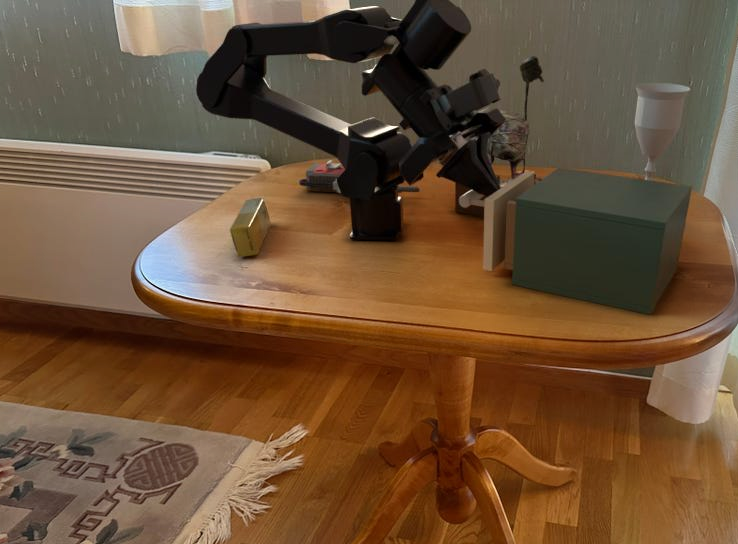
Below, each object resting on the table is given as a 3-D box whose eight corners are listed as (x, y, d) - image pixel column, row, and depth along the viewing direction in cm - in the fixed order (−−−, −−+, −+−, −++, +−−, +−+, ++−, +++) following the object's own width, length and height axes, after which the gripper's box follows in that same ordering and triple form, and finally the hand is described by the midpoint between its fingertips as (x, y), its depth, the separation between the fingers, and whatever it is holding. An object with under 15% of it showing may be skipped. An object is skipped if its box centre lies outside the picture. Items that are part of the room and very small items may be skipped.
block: (485, 217, 100) (485, 184, 97) (455, 212, 102) (455, 179, 99) (499, 207, 104) (500, 175, 101) (470, 202, 106) (470, 170, 103)
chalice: (614, 218, 100) (630, 89, 90) (623, 204, 105) (639, 81, 96) (665, 225, 98) (687, 93, 88) (671, 210, 103) (693, 85, 93)
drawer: (448, 262, 84) (448, 192, 79) (490, 229, 93) (492, 166, 89) (606, 295, 76) (616, 221, 72) (635, 256, 86) (645, 188, 81)
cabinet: (511, 284, 81) (515, 198, 75) (552, 245, 91) (558, 167, 85) (650, 315, 74) (665, 222, 69) (676, 269, 85) (692, 186, 79)
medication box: (252, 226, 97) (245, 199, 95) (271, 224, 97) (264, 196, 95) (237, 258, 87) (228, 228, 85) (258, 255, 87) (250, 225, 85)
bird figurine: (481, 180, 116) (483, 53, 105) (547, 181, 115) (556, 53, 105) (479, 195, 109) (481, 60, 98) (550, 196, 108) (559, 61, 98)
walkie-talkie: (295, 195, 108) (418, 200, 106) (291, 168, 106) (417, 172, 104) (312, 179, 116) (427, 183, 114) (309, 153, 113) (426, 157, 112)
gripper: (415, 58, 70) (511, 176, 71) (491, 38, 84) (570, 137, 85) (360, 131, 77) (448, 236, 78) (438, 101, 91) (512, 191, 93)
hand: (499, 197), depth 83 cm, fingers closed, pressing on drawer
